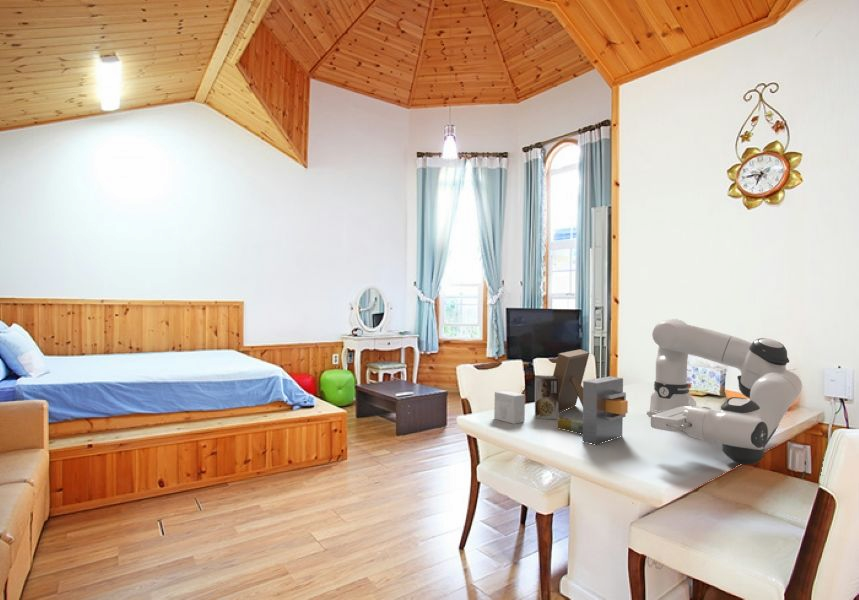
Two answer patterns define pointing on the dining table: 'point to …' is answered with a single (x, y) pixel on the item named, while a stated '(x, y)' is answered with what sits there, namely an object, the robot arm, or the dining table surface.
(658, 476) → the dining table surface
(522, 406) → the skincare box
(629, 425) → the dining table surface
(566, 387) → the photo frame
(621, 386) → the panel
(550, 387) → the coffee box
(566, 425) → the medication box
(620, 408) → the plunger
